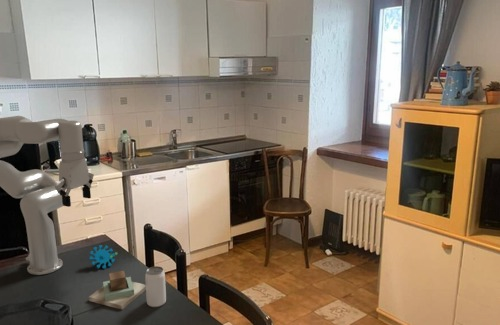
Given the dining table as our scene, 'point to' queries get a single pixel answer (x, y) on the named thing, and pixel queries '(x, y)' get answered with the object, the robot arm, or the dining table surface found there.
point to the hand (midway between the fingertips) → (77, 201)
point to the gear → (102, 256)
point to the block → (117, 281)
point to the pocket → (120, 292)
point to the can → (155, 286)
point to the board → (118, 302)
